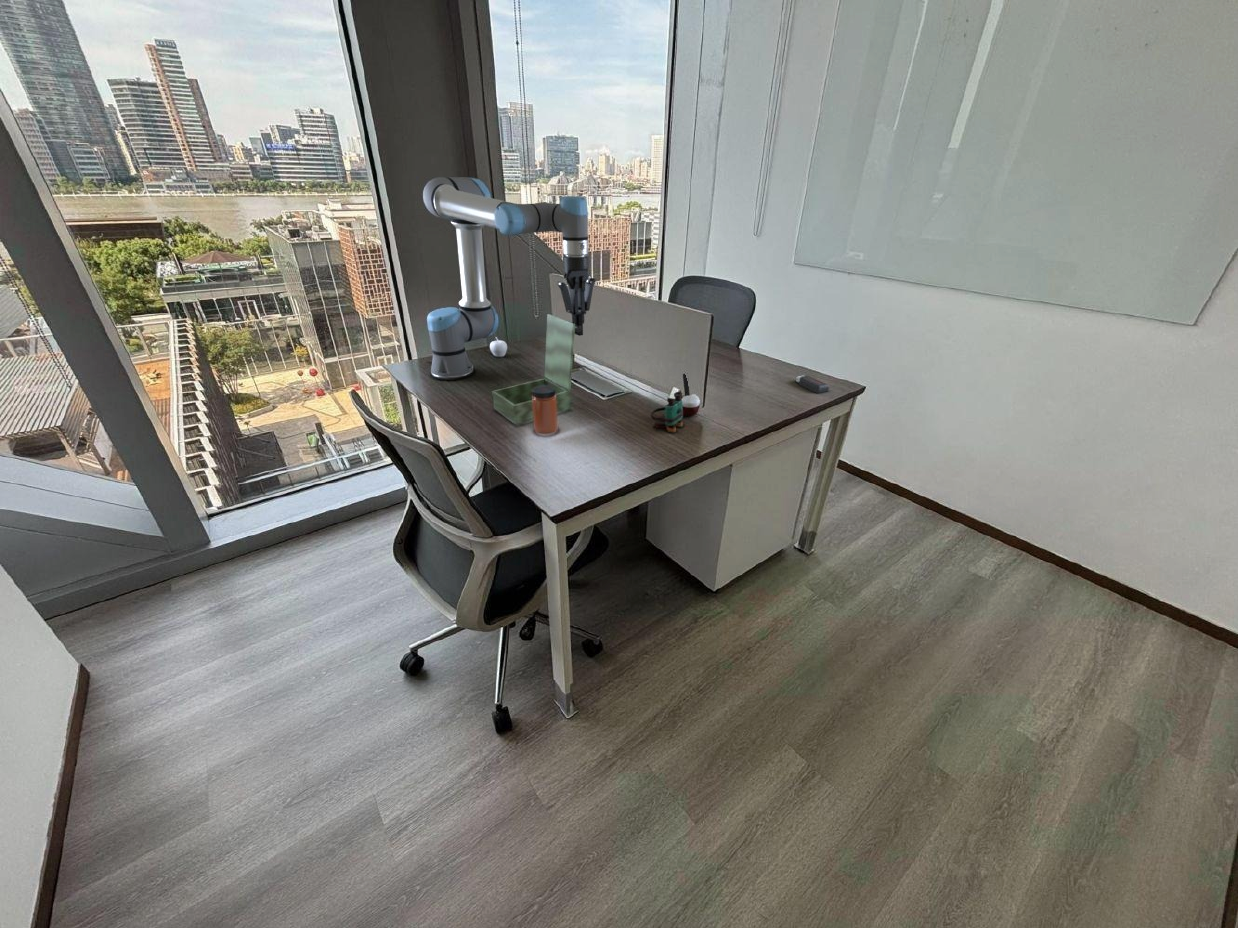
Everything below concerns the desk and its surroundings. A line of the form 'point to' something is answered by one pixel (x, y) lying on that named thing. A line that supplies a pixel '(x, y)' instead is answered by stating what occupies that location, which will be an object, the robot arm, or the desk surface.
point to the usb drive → (812, 384)
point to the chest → (526, 400)
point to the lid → (560, 350)
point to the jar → (544, 409)
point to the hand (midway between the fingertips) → (578, 334)
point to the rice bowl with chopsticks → (689, 401)
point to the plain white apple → (498, 348)
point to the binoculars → (670, 414)
